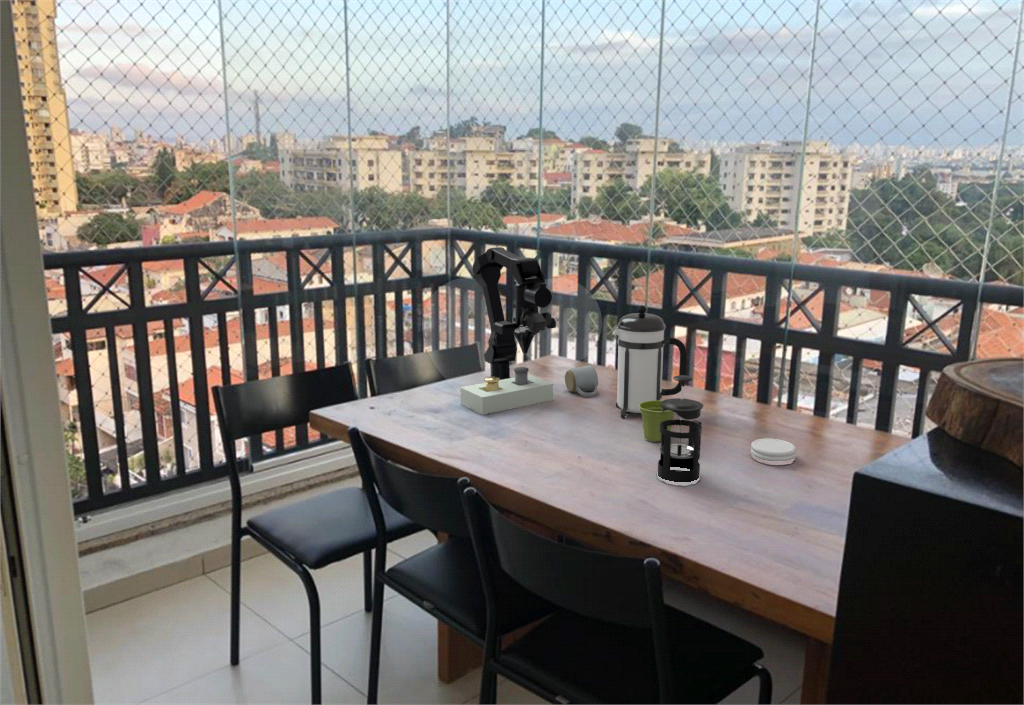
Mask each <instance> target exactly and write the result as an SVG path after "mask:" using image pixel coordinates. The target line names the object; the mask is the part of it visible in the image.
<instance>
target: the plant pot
mask: <svg viewBox="0 0 1024 705" xmlns="http://www.w3.org/2000/svg"><path fill="white" fill-rule="evenodd" d="M662 401H663V400H661V401H658V400H653V401H645V402H642V403H640V404H639V408H640V410H641V413H640V414H641V419H642V428H643V436H644V437H643V438H644V439H645V440H646V439H647V440H646V441H648V440H650V441H649V442H651V441H657V442H660V441H661V433H660V431H659V428H660V423H661V422H663V421H666V420H673V419H674V415H675V414H676V413H675V412H673V411H671V410H665V411H664V412H663V413H662V407H661V405H660V403H661V402H662ZM667 430H669V431H672V425H671V426H667Z"/></svg>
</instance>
